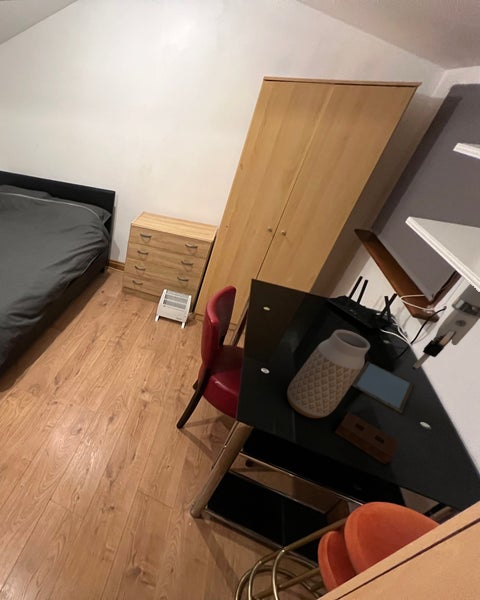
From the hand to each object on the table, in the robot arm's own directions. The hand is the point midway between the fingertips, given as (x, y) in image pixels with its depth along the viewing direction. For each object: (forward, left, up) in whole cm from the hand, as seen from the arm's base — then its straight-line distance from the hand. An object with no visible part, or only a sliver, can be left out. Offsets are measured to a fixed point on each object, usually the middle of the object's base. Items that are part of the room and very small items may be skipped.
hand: (429, 352), depth 105 cm
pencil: (0, 0, -8) cm, 8 cm away
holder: (+1, +29, -23) cm, 37 cm away
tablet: (+3, -7, -23) cm, 24 cm away
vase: (+18, +30, -23) cm, 42 cm away
